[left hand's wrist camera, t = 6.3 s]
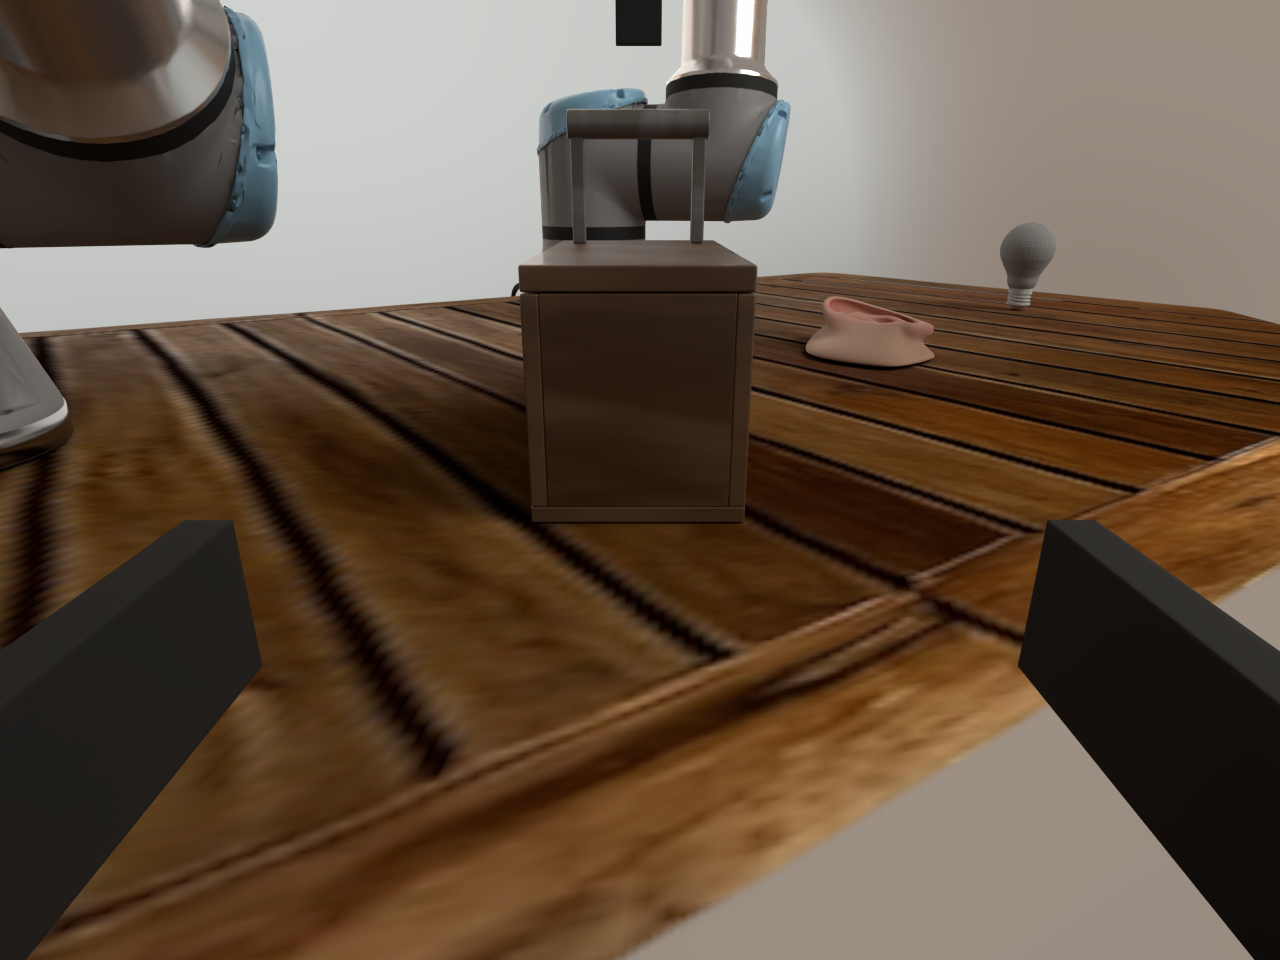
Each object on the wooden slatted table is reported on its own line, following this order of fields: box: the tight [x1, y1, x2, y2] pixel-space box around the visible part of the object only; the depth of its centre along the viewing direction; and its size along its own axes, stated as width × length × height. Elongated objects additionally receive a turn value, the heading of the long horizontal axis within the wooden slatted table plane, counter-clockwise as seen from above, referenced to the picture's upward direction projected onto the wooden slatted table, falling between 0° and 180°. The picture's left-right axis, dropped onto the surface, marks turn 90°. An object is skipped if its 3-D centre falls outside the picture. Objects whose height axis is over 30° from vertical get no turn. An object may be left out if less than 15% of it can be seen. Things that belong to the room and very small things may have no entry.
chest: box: [520, 292, 756, 522], centre depth 39 cm, size 17×9×10 cm, turn 0°
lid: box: [518, 109, 757, 292], centre depth 36 cm, size 18×9×8 cm, turn 0°
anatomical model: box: [806, 297, 934, 367], centre depth 67 cm, size 13×4×12 cm
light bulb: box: [1000, 223, 1056, 308], centre depth 92 cm, size 6×6×10 cm
